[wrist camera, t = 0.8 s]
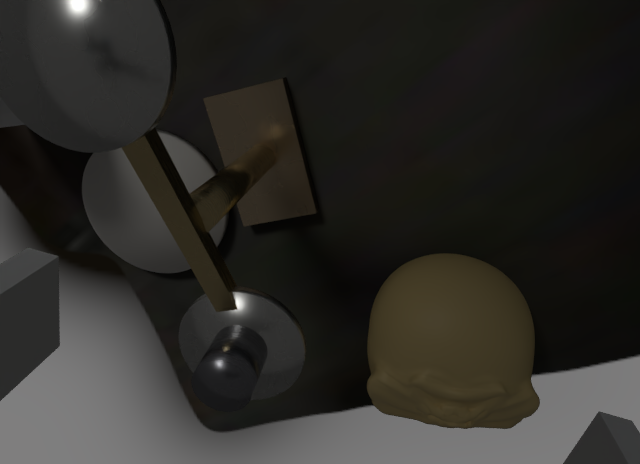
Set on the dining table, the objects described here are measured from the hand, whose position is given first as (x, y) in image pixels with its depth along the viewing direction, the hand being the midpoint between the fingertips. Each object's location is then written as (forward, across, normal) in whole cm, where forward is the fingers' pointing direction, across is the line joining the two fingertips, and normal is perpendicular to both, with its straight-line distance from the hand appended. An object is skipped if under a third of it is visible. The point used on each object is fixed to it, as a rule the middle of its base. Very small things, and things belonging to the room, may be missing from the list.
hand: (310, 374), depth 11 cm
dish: (+24, -15, -9) cm, 30 cm away
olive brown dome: (+24, +10, -11) cm, 28 cm away
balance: (+24, -7, -2) cm, 25 cm away
